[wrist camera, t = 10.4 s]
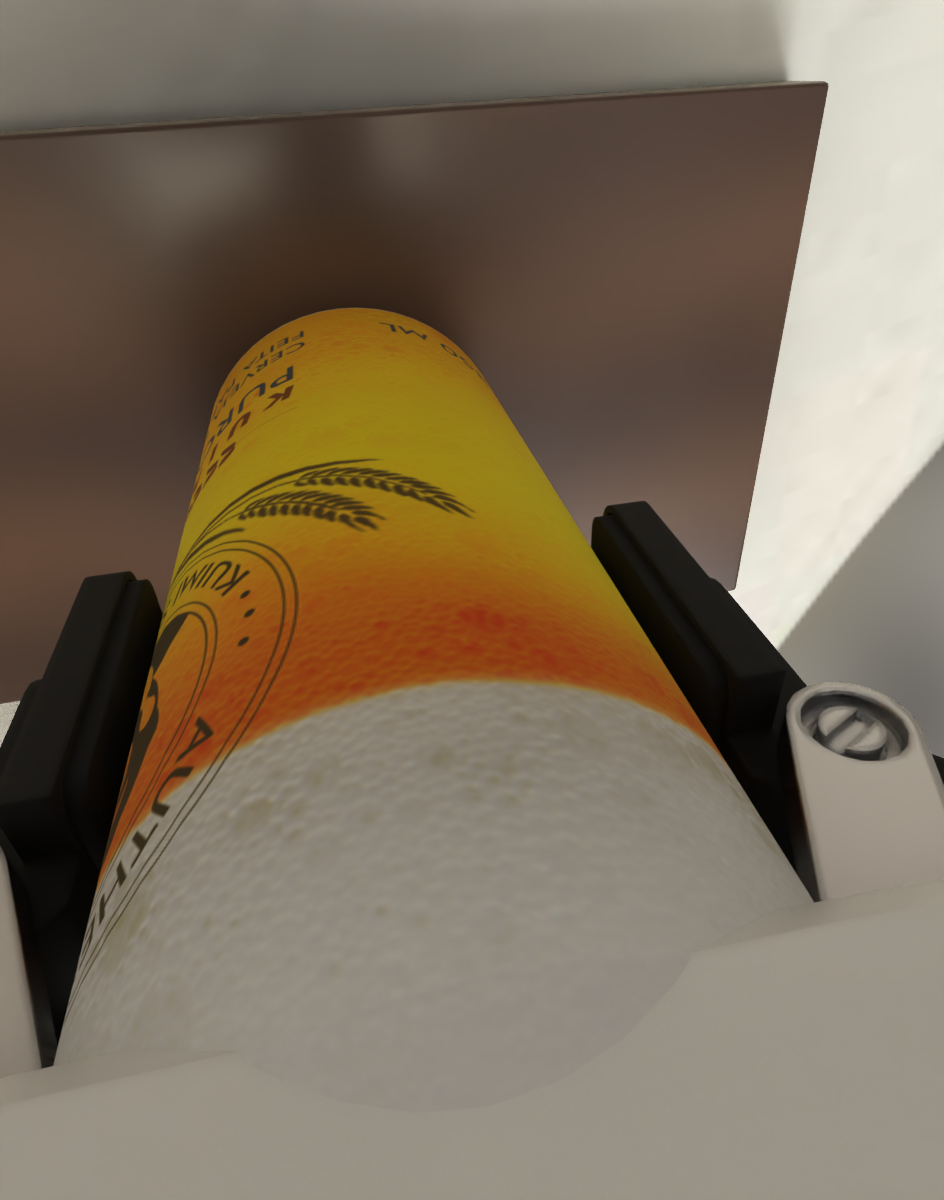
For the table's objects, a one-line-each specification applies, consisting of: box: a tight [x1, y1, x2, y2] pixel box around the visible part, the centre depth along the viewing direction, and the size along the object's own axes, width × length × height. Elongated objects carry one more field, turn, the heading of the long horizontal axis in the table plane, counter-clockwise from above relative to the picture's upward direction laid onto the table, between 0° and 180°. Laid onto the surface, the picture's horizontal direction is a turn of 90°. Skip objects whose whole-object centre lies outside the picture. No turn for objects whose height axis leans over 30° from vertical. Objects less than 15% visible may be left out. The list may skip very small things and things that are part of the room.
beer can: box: [53, 308, 814, 1113], centre depth 11 cm, size 6×6×15 cm
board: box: [0, 81, 828, 704], centre depth 17 cm, size 12×20×2 cm, turn 93°
